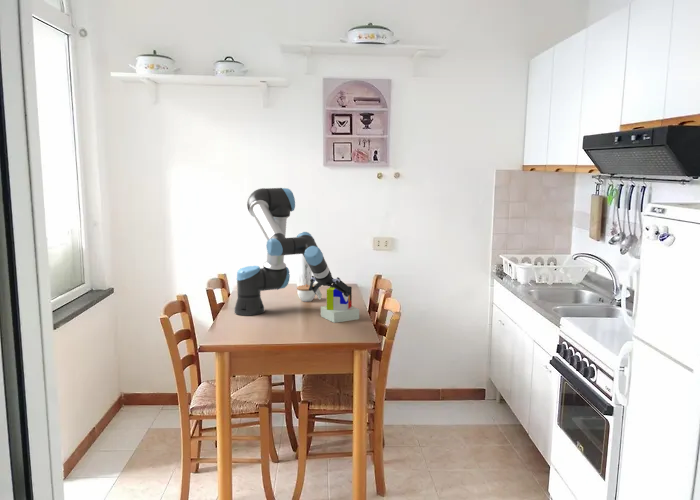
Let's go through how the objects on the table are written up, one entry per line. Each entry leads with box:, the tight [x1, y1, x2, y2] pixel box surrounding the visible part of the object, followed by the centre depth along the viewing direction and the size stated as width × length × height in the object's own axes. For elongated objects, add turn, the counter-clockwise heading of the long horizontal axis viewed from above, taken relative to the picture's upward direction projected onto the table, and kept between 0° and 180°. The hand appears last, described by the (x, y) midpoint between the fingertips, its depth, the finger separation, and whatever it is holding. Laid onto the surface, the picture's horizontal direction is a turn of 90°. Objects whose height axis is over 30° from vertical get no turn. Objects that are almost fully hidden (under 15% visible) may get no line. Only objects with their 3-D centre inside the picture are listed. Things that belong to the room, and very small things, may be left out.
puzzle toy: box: [326, 285, 353, 311], centre depth 272 cm, size 10×10×10 cm
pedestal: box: [320, 305, 360, 324], centre depth 273 cm, size 14×14×5 cm
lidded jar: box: [296, 283, 316, 303], centre depth 309 cm, size 11×11×9 cm
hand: (333, 298), depth 264 cm, fingers open, 13 cm apart
